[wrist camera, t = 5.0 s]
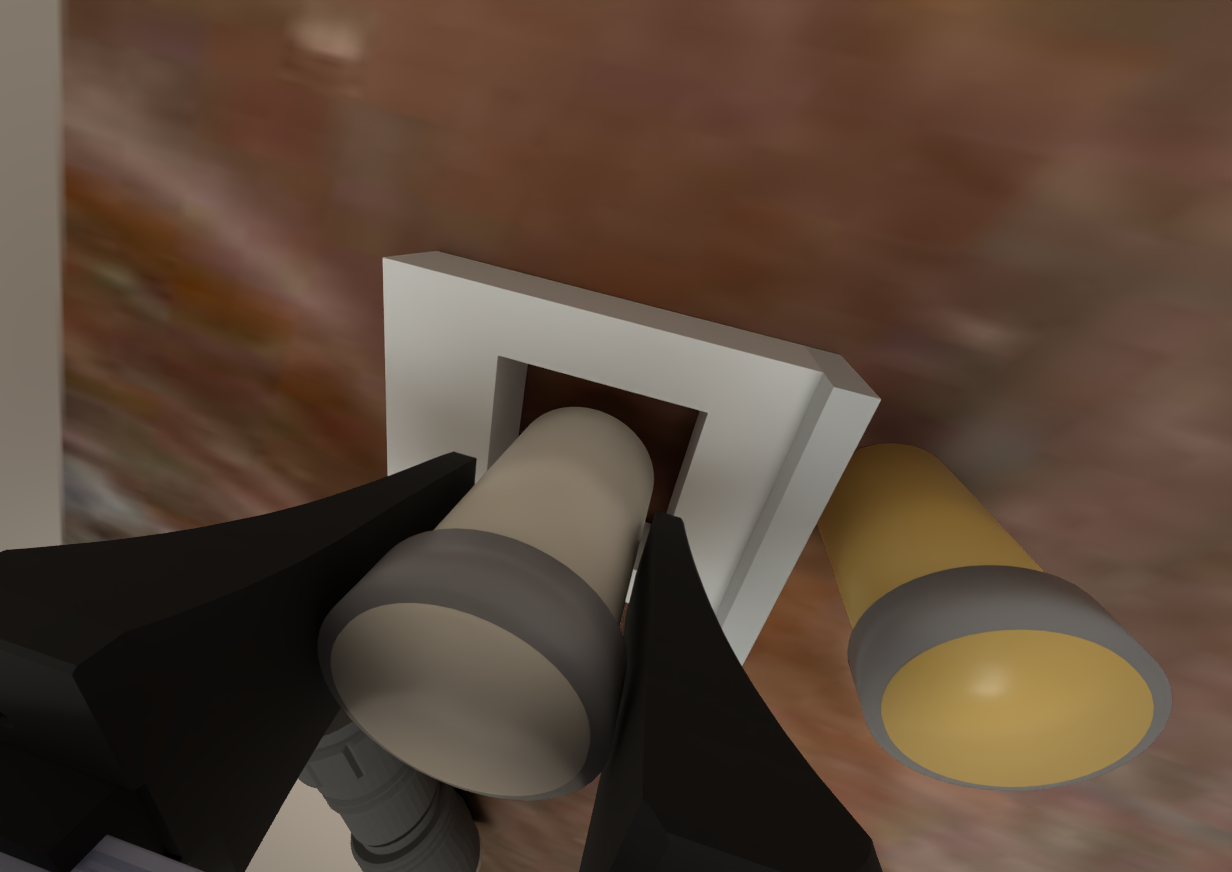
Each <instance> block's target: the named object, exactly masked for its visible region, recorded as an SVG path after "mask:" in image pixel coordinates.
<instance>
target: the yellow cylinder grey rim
mask: <svg viewBox="0 0 1232 872" xmlns="http://www.w3.org/2000/svg"><path fill="white" fill-rule="evenodd" d="M817 526H818V529H819V532H820V535H821V538H822V541H823V544H824V547H825V550H826V553H827V556H828V559H829V562H830V565H831V567H832V570H833V573H834V576H835V579H836V582H837V585H838V588H839V591H840V594H841V597H842V600H843V603H844V606H845V609H846V612H847V615H848V618H849V621H850V624H851V627H852V630H853V631H852V633H851V636H850V639H849V644H848V663H849V666H850V670H851V673H852V677H853V680H854V683H855V687H856V690H857V693H858V697H859V700H860V703H861V707H862V710H863V713H864V717H865V720H866V723H867V726H868V728H869V730H870V732H871V734H872V736H873V737H874V739H875V740H876V741H877V743H878V744H879V745H880V746H881V747H882V748H883V749H884V750H885V751H886V752H887V753H888V754H889V755H891V756H892V757H893V758H895V759H896V760H897V761H899V762H900V763H902V764H904V765H905V766H907V767H909V768H910V769H913V770H915V771H917V772H919V773H921V774H923V775H926V776H929V777H931V778H934V779H937V780H940V781H944V782H947V783H951V784H955V785H960V786H965V787H970V788H977V789H985V790H1001V791H1024V790H1037V789H1046V788H1053V787H1060V786H1064V785H1069V784H1073V783H1078V782H1081V781H1084V780H1088V779H1091V778H1094V777H1097V776H1100V775H1102V774H1105V773H1107V772H1109V771H1112V770H1114V769H1116V768H1118V767H1120V766H1122V765H1124V764H1125V763H1127V762H1129V761H1130V760H1132V759H1133V758H1135V757H1136V756H1138V755H1139V754H1141V753H1142V752H1143V751H1144V750H1145V749H1146V748H1148V747H1149V746H1150V745H1151V744H1152V743H1153V742H1154V741H1155V739H1156V738H1157V737H1158V736H1159V735H1160V734H1161V732H1162V730H1163V729H1164V727H1165V725H1166V723H1167V722H1168V719H1169V715H1170V712H1171V709H1172V692H1171V687H1170V683H1169V681H1168V679H1167V677H1166V674H1165V672H1164V671H1163V669H1162V668H1161V667H1160V665H1159V664H1158V663H1157V661H1156V660H1155V659H1154V658H1153V657H1152V656H1151V655H1150V654H1149V653H1148V652H1147V651H1146V650H1145V649H1144V648H1143V647H1142V646H1141V645H1140V644H1139V643H1138V642H1137V641H1136V640H1135V639H1134V638H1133V637H1132V636H1131V635H1130V634H1129V633H1128V632H1127V631H1126V630H1125V629H1124V628H1123V627H1122V626H1121V625H1120V624H1119V623H1118V622H1117V621H1116V620H1115V619H1114V618H1113V617H1112V616H1111V615H1110V614H1109V613H1108V612H1107V611H1106V610H1105V609H1104V608H1103V607H1102V606H1101V605H1100V604H1099V603H1098V602H1097V601H1096V600H1095V599H1094V598H1093V597H1091V596H1090V595H1089V594H1088V593H1087V592H1085V591H1084V590H1082V589H1081V588H1079V587H1078V586H1076V585H1074V584H1072V583H1070V582H1068V581H1066V580H1064V579H1062V578H1059V577H1056V576H1054V575H1051V574H1048V573H1045V572H1044V571H1043V570H1042V569H1041V568H1040V567H1039V566H1038V565H1037V563H1036V562H1035V561H1034V560H1033V559H1032V558H1031V557H1030V556H1029V555H1028V554H1027V553H1026V552H1025V551H1024V549H1023V548H1022V547H1021V546H1020V545H1019V544H1018V543H1017V542H1016V541H1015V540H1014V539H1013V538H1012V537H1011V535H1010V534H1009V533H1008V532H1007V531H1006V530H1005V529H1004V528H1003V527H1002V526H1001V525H1000V524H999V523H998V522H997V520H996V519H995V518H994V517H993V516H992V515H991V514H990V513H989V512H988V511H987V510H986V509H985V508H984V506H983V505H982V504H981V503H980V502H979V501H978V500H977V499H976V498H975V497H974V496H973V495H972V494H971V492H970V491H969V490H968V489H967V488H966V487H965V486H964V485H963V484H962V483H961V482H960V481H959V480H958V479H957V477H956V476H955V475H954V474H953V473H952V472H951V471H950V470H949V469H948V468H947V467H946V466H945V465H944V463H943V462H941V461H940V460H939V459H938V458H937V457H936V456H934V455H933V454H931V453H929V452H927V451H925V450H923V449H921V448H918V447H915V446H911V445H906V444H898V443H883V444H875V445H870V446H866V447H863V448H860V449H857V450H855V451H854V453H853V455H852V457H851V459H850V460H849V462H848V464H847V466H846V468H845V470H844V472H843V474H842V476H841V478H840V480H839V481H838V483H837V485H836V487H835V489H834V491H833V493H832V495H831V497H830V499H829V501H828V503H827V504H826V506H825V508H824V510H823V512H822V514H821V516H820V518H819V520H818V522H817Z"/></svg>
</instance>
